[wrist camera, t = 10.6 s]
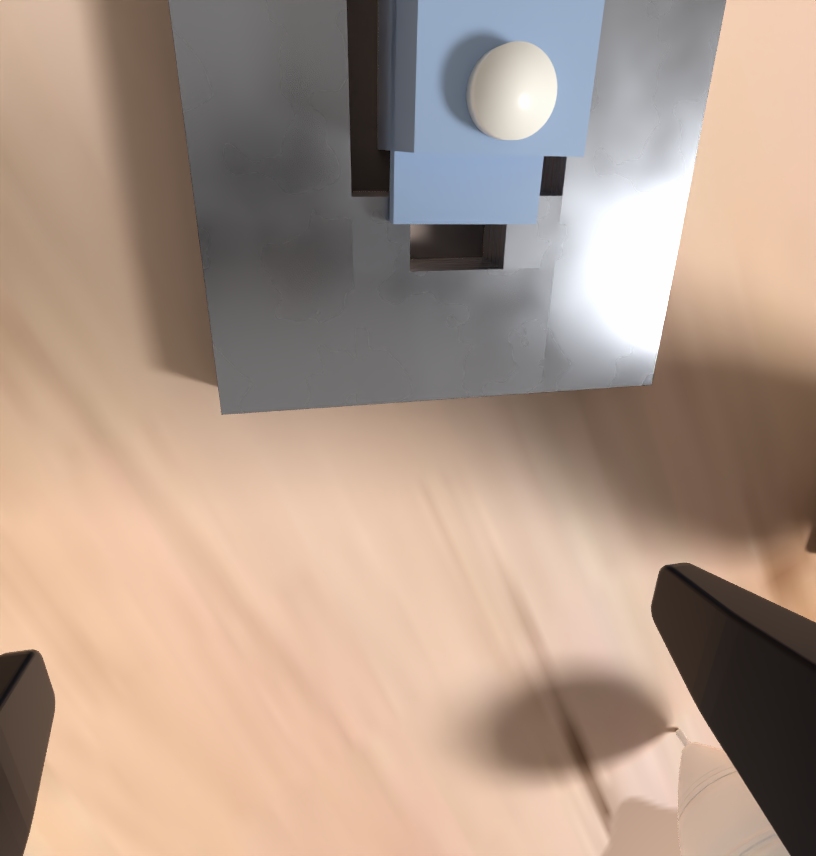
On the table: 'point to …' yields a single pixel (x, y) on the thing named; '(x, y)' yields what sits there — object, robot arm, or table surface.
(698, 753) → the spinning top
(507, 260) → the chassis plate
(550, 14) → the servo
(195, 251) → the table surface
